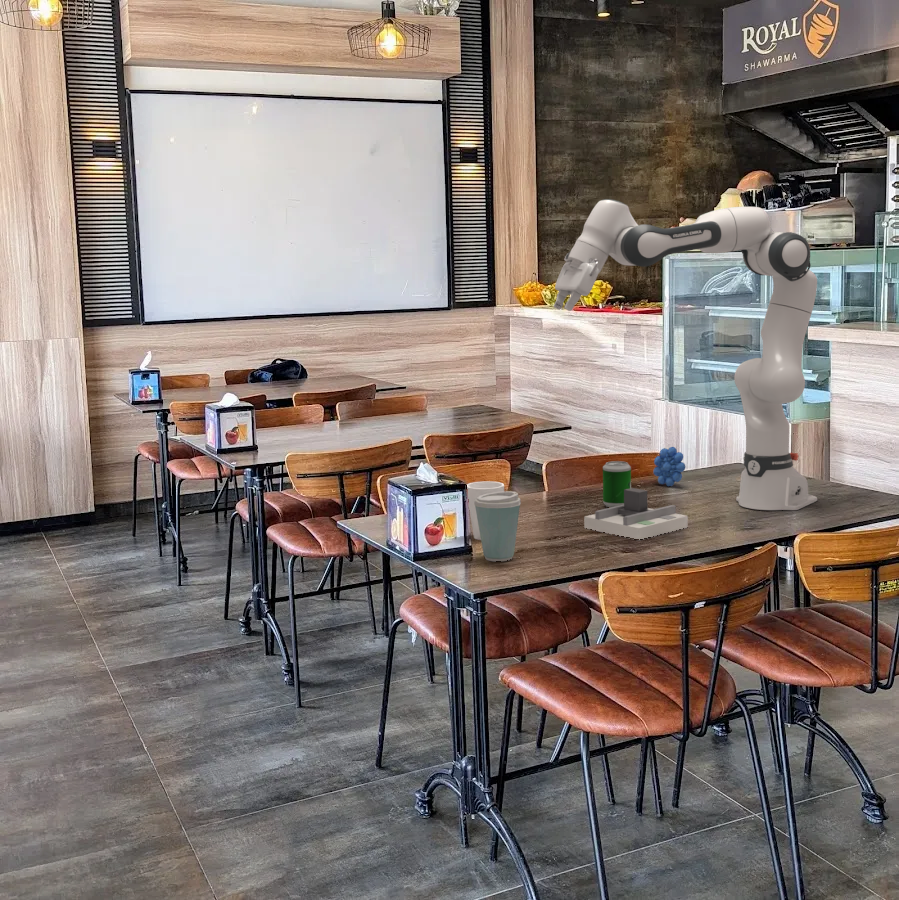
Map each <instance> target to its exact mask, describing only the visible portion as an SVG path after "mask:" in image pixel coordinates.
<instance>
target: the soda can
mask: <svg viewBox="0 0 899 900" xmlns="http://www.w3.org/2000/svg"><path fill="white" fill-rule="evenodd" d="M630 488H632V467H631V465H630V464H629V462H626V461H621V460H620V461H619V460H615V461H608V462H605V464H604V465H603V466H602V489H603V490H602V503H603V504H604V505H605V507H606V508H607V507H610V508H611V507H615V506H619V505H623V504H624V490H625V489H630Z"/></svg>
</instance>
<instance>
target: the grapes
mask: <svg viewBox="0 0 899 900" xmlns="http://www.w3.org/2000/svg"><path fill="white" fill-rule="evenodd" d="M677 449H678V448H676V447H675V446H670V447H669V448H668V449H667V448H661V450H659V455H656V457H654V461H653V463H654V465H655V467H654V468H653V475H654V476H656V477H658V478H657V482H658V484H659V485H666V486H667V487H669V486H671V487H673V486H674V484H675V482H676V483H678V482H680V481H681V480H682V479H683V474H682V473H683V472H684V471H685V470H686V468H687V467H686V464H685V462H683V460H684V454H683V453H682V452H681V451H678V450H677Z"/></svg>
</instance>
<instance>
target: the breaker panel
mask: <svg viewBox="0 0 899 900" xmlns="http://www.w3.org/2000/svg"><path fill="white" fill-rule="evenodd" d="M648 505H649V504H648V499H647V509H649V511H645V512H641V513H637V514H633V515H629V516H625V515H620V514H618V509H622V508H624V504H623V505H619V506H615V507H611V508H607V507H606V508H602V509H600V510H599V509H598V510H595V512H594V514H589V515H585V516H584V518H583V519H584V522H583V523H584V529H586V528H587V529H586V530H590V529H592V531H595V530H596V531H595V532H600V533H603V532H605V533H604V534H608V533H609V535H612V534H615V535H614V536H617V535H619V536H618V537H621V536H624V537H623V538H626V537H630V538H634V539H639V540H638V541H641V540H640V539H643V540H645V539H644V538H647V539H649V538H648V537H651V538H654V537H658V536H661V535H660V534H662V535H665V534H664V533H666V534H669V533H673V532H676V530H677V531H680V530H679V529H681V530H683V528H684V529H688V528H687V527H688V526H689V525H688V523H689V522H688V521H689V520H688V519H689V517H688V515H686V514H681V513H677V512H676V509H677V506H676V505H674V504H670V505H666V506H662V507H658V508H649V507H648ZM672 531H673V532H672ZM668 532H669V533H668ZM657 535H658V536H657ZM653 536H654V537H653ZM630 538H629V539H630ZM634 539H633V540H634Z"/></svg>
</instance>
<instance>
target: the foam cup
mask: <svg viewBox="0 0 899 900" xmlns="http://www.w3.org/2000/svg"><path fill="white" fill-rule="evenodd" d="M466 485H467V489H468V499H469V505H468V511H469V510H470V511H469V516H470V522H471V529H472V530H471V531H472V536H473V539H475V540H478V541H481V537H480V531H479V525H478V519H477V514H476V508H475V505H474V502H475V500H476V499H477V497H479V496H480V495H484V494H488V493H494V492H505V484H504V483H503V482H499V481H487V480H486V481H474V482H469V483H467V484H466ZM468 499H467V500H468Z"/></svg>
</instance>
